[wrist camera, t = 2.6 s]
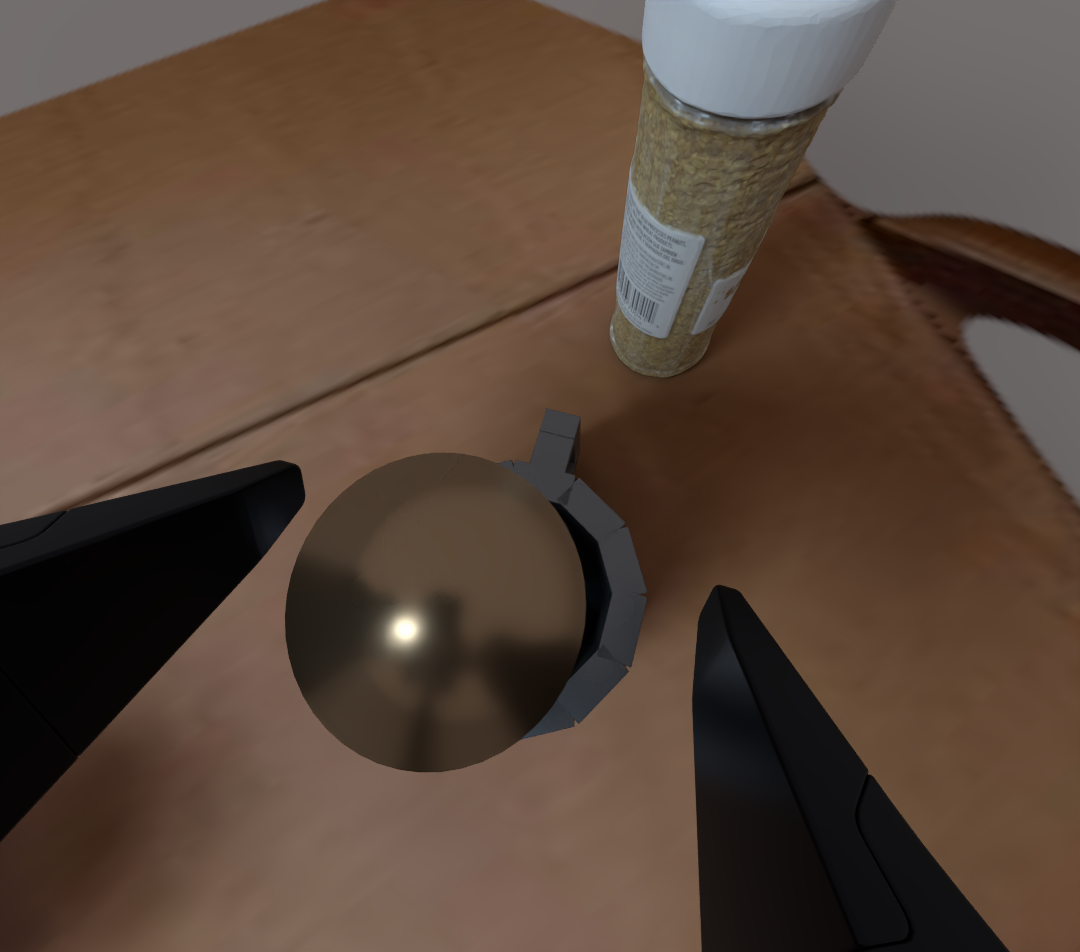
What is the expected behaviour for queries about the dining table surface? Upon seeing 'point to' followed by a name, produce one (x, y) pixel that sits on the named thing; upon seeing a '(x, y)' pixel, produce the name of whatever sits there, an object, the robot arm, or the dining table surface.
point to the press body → (588, 572)
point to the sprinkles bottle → (720, 154)
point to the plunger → (435, 612)
